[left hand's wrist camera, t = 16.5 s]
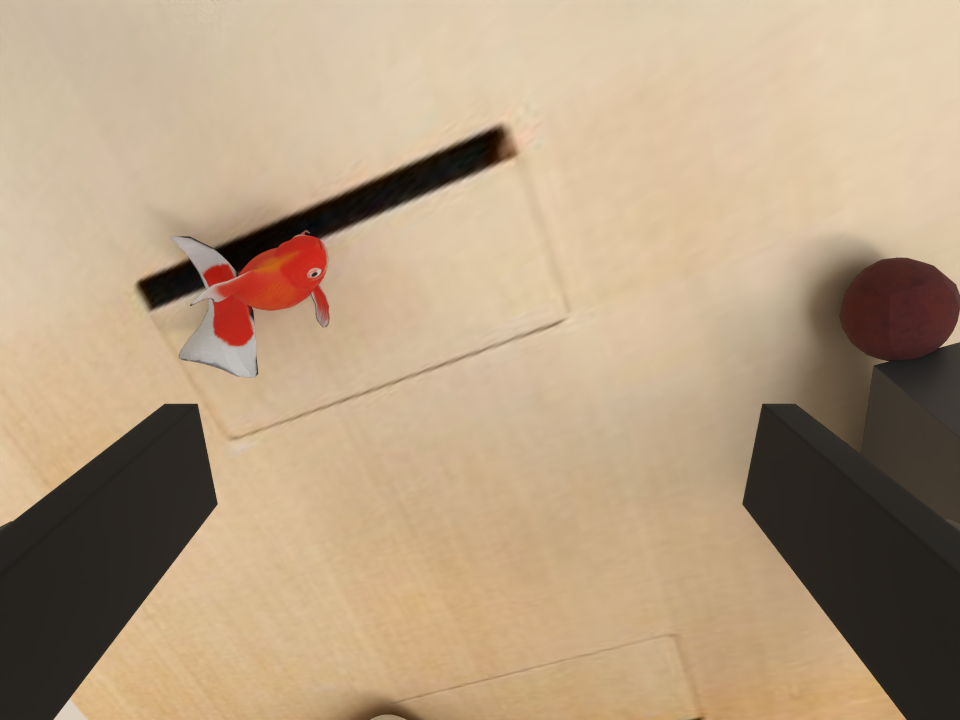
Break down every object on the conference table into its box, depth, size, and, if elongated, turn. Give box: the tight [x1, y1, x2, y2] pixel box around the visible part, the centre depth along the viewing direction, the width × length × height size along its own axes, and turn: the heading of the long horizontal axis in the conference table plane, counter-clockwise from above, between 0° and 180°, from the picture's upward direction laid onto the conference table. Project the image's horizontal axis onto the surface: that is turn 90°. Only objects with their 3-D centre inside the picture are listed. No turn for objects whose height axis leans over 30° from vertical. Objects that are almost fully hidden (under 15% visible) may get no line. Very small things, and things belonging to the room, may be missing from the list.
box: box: [861, 342, 960, 524], centre depth 41 cm, size 23×6×11 cm, turn 19°
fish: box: [168, 231, 329, 378], centre depth 40 cm, size 11×16×10 cm
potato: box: [840, 258, 960, 361], centre depth 41 cm, size 7×8×7 cm
